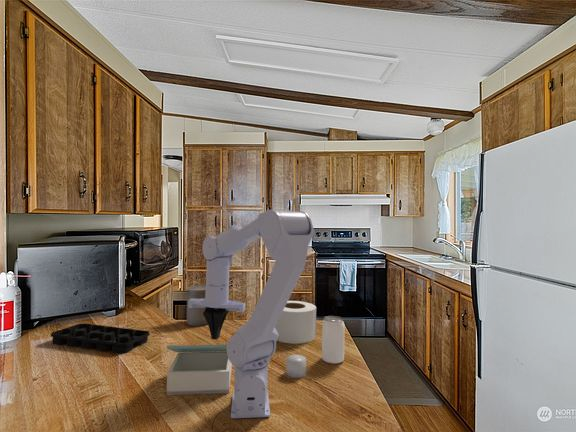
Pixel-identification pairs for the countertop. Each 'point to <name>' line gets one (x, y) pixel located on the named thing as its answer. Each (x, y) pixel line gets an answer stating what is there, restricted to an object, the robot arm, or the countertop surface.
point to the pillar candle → (194, 313)
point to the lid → (198, 348)
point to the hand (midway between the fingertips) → (215, 338)
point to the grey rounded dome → (296, 366)
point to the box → (199, 373)
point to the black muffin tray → (100, 337)
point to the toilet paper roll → (297, 323)
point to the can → (333, 339)
